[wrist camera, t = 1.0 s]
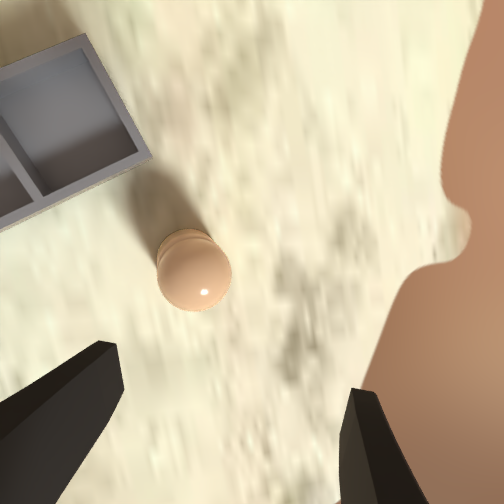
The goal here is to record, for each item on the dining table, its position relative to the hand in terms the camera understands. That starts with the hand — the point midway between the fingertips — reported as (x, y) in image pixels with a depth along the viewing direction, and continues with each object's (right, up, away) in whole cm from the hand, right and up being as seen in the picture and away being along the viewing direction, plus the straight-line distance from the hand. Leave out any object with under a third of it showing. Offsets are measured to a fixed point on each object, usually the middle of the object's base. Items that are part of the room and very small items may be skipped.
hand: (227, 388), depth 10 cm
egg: (-4, +4, +13) cm, 14 cm away
